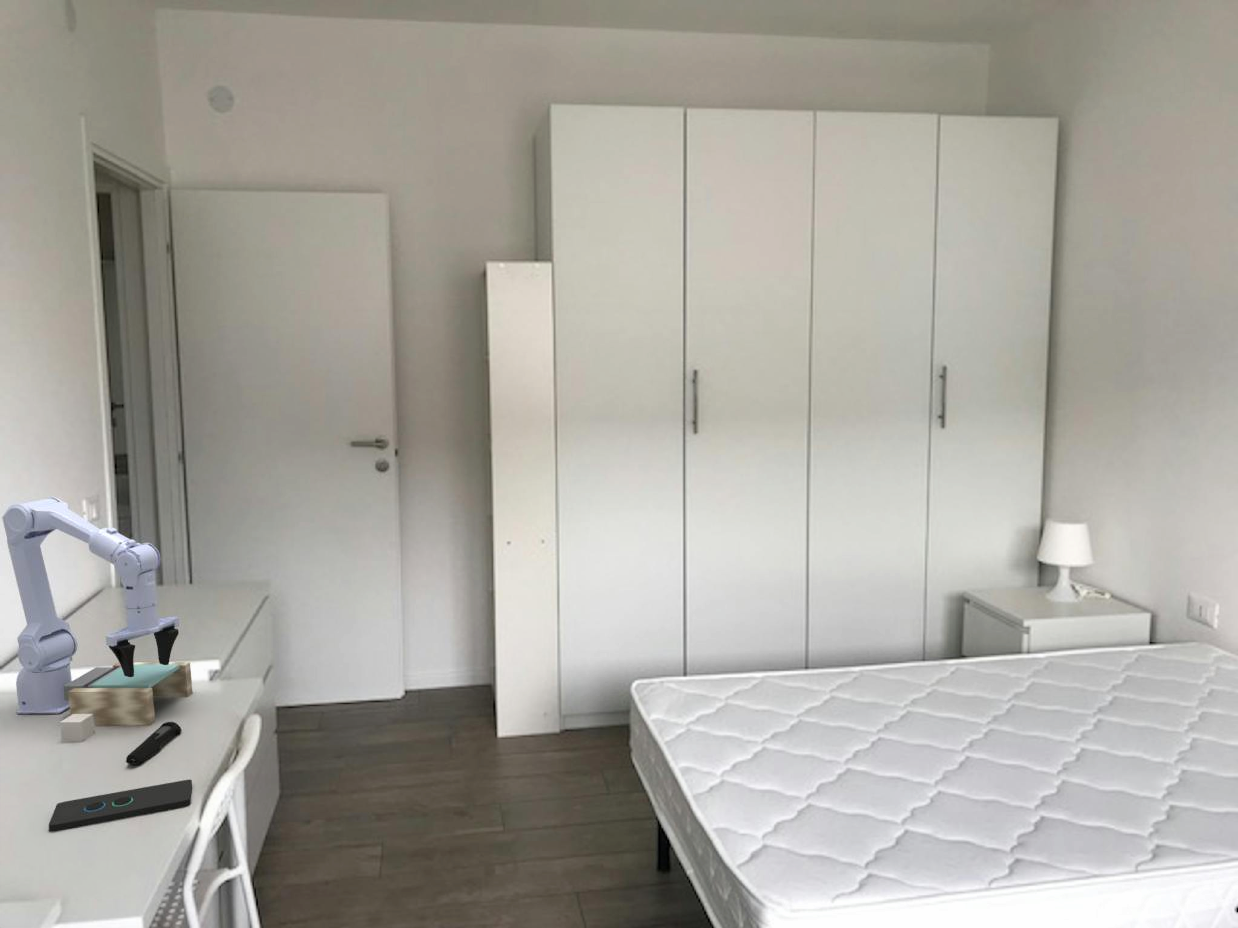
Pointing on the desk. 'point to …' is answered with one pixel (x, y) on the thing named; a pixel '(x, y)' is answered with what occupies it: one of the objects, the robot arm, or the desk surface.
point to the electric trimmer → (153, 742)
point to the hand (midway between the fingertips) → (146, 669)
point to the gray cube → (77, 727)
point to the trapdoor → (121, 677)
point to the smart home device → (120, 805)
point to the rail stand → (129, 698)
